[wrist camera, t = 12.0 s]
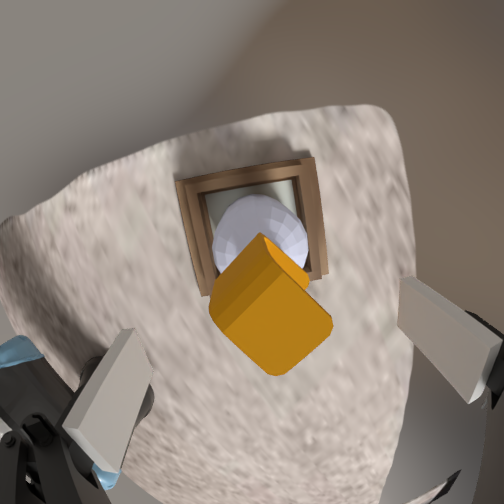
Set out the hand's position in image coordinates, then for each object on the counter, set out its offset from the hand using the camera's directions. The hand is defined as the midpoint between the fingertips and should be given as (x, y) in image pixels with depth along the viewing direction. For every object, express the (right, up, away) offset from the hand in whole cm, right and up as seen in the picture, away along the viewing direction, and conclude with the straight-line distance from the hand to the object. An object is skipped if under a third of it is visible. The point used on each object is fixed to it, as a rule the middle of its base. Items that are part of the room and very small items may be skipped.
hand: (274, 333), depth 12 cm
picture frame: (-1, +7, +24) cm, 25 cm away
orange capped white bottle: (-1, +7, +23) cm, 24 cm away
